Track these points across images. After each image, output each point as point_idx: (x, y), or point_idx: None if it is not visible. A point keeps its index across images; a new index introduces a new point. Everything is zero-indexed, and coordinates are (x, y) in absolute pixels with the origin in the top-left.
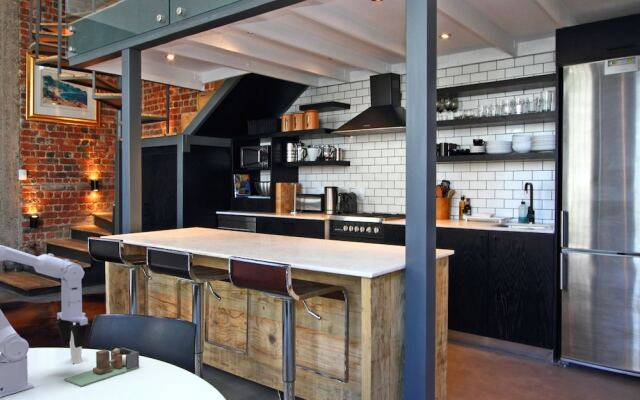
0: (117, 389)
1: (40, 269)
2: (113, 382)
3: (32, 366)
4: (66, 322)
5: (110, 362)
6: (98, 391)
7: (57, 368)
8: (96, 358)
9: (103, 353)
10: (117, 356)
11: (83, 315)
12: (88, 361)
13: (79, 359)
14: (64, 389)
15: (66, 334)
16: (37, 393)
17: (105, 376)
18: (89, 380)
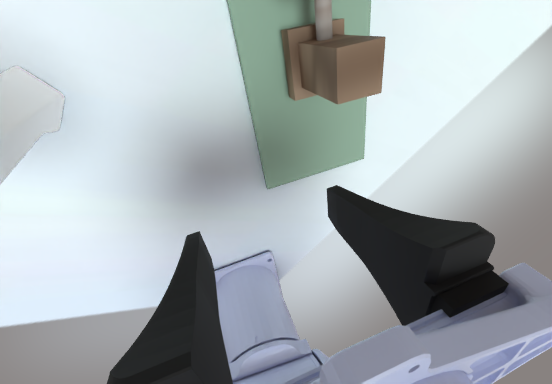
0: (457, 79)
1: None
2: (408, 65)
3: (11, 261)
4: (217, 379)
5: (331, 21)
6: (422, 126)
7: (106, 188)
8: (322, 95)
9: (380, 77)
10: None
11: (498, 350)
12: (51, 41)
13: (45, 94)
14: None
15: (208, 285)
16: (314, 242)
17: None
18: (348, 129)
